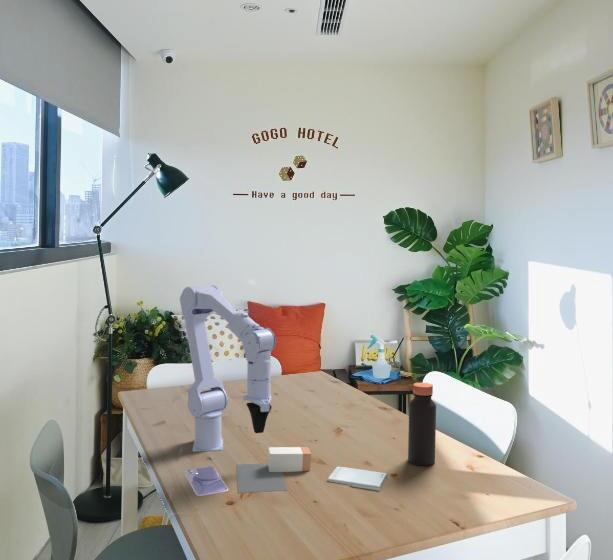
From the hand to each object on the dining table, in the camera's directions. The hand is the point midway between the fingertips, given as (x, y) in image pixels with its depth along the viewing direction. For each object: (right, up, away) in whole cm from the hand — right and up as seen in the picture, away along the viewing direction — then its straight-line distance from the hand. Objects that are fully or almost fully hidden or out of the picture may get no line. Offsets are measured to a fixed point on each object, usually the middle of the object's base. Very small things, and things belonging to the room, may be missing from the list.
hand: (258, 432), depth 138 cm
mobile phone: (-12, -10, -8) cm, 17 cm away
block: (+3, -6, -1) cm, 7 cm away
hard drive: (+24, -10, -6) cm, 27 cm away
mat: (+1, -9, -6) cm, 11 cm away
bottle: (+42, -9, +5) cm, 43 cm away
